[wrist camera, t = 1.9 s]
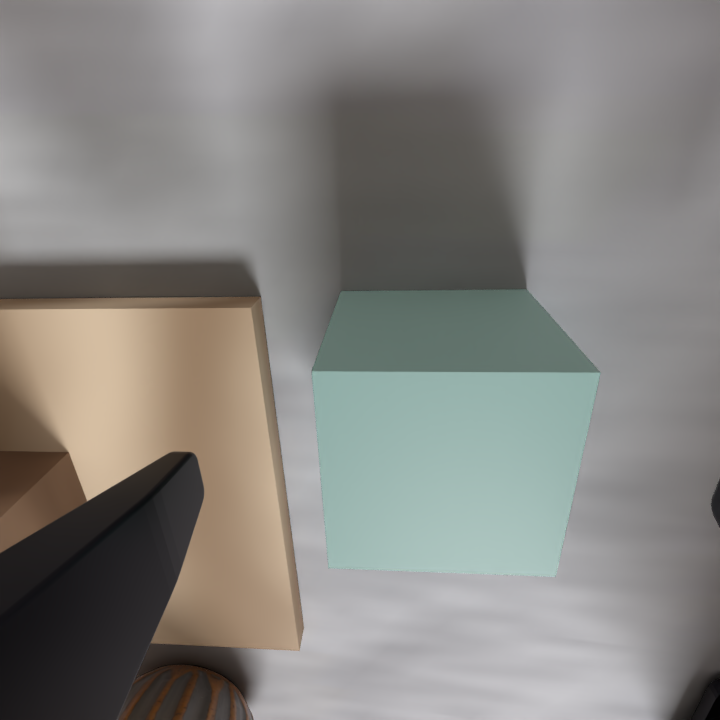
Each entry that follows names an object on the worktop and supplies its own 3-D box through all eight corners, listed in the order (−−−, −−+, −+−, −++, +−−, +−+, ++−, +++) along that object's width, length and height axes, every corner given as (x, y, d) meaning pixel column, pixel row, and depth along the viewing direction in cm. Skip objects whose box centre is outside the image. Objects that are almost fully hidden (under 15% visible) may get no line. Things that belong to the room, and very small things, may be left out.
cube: (525, 288, 10) (600, 372, 7) (505, 441, 12) (555, 576, 8) (341, 289, 11) (311, 371, 7) (349, 438, 12) (328, 567, 9)
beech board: (260, 296, 11) (250, 307, 10) (303, 627, 16) (299, 650, 15) (-340, 301, 12) (-387, 312, 11) (-118, 608, 17) (-141, 628, 16)
